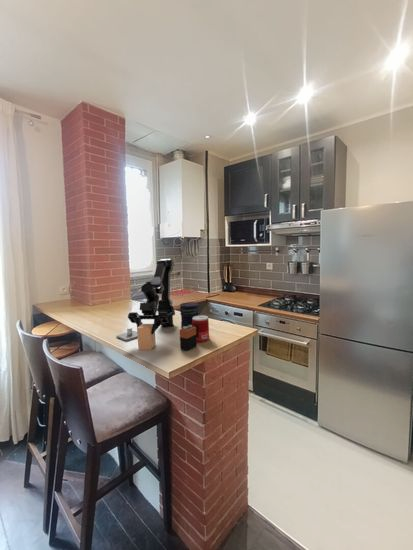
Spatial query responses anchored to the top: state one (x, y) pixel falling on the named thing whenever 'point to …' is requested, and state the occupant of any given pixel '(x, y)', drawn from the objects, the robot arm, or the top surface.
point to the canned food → (201, 327)
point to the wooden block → (145, 337)
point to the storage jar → (188, 313)
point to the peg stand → (128, 335)
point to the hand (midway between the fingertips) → (145, 334)
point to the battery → (188, 337)
